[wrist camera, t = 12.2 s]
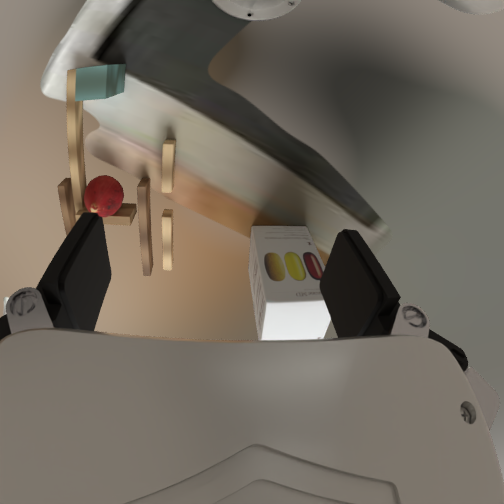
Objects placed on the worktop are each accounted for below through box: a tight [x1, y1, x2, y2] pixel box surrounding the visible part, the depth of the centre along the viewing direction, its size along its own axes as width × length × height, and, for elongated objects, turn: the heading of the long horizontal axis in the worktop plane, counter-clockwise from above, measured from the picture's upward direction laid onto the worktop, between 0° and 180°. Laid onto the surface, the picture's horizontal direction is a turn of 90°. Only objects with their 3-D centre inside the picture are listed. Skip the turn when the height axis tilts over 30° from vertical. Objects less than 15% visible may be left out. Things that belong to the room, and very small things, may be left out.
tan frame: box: [67, 64, 137, 225], centre depth 32 cm, size 22×10×7 cm, turn 171°
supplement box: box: [248, 226, 331, 340], centre depth 43 cm, size 10×9×17 cm
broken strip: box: [162, 140, 176, 270], centre depth 42 cm, size 21×1×2 cm, turn 171°
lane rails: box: [58, 178, 153, 276], centre depth 42 cm, size 16×14×3 cm
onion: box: [84, 175, 124, 217], centre depth 36 cm, size 6×6×8 cm
